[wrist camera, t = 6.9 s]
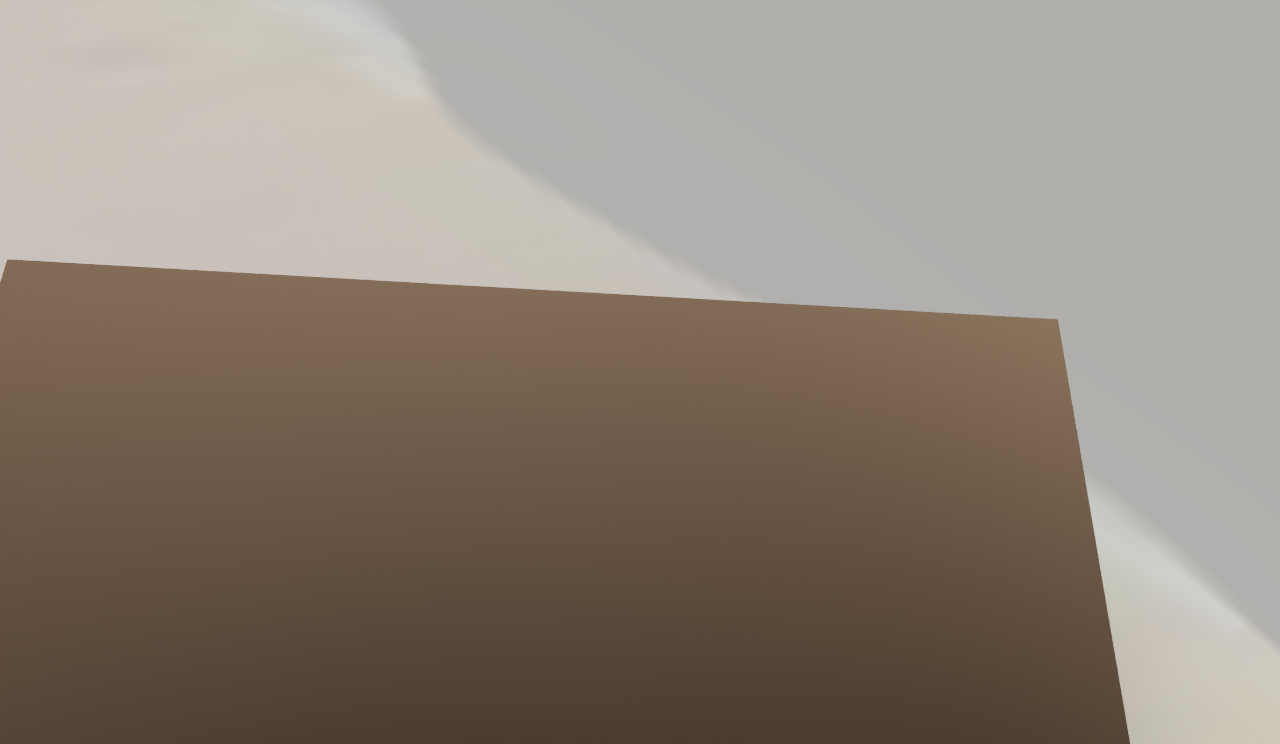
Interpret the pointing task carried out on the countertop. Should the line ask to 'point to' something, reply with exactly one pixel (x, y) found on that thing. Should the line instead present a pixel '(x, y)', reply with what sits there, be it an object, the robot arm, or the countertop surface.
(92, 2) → the countertop surface
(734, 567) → the tall wooden block
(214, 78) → the countertop surface
